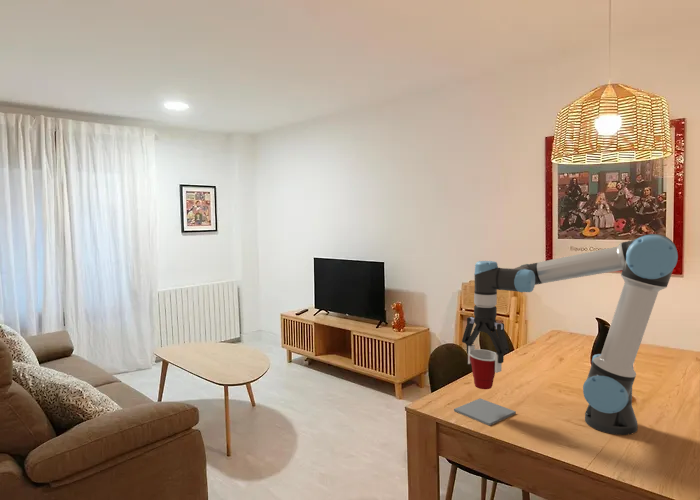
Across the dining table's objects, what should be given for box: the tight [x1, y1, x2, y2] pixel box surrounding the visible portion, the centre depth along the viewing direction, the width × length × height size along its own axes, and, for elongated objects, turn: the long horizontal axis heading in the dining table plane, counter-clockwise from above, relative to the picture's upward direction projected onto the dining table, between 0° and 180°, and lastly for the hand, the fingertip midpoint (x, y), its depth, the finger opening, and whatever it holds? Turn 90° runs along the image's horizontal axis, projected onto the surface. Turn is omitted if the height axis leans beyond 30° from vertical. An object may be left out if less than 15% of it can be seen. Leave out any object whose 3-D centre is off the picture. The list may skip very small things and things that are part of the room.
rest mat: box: [453, 398, 517, 426], centre depth 164 cm, size 15×15×1 cm
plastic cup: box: [469, 348, 496, 390], centre depth 163 cm, size 11×11×12 cm
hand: (484, 367), depth 162 cm, fingers closed on plastic cup, 11 cm apart
